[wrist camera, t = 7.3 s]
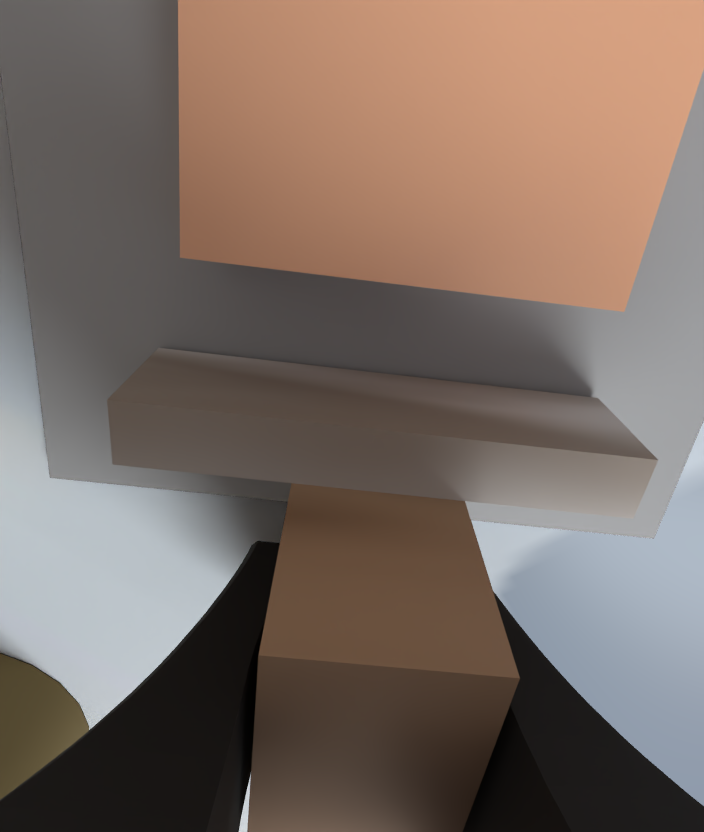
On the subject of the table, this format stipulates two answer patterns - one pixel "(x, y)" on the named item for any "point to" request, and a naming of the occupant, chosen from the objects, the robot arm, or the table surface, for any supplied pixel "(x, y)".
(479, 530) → the table surface
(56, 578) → the table surface
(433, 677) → the pusher
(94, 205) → the board
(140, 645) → the table surface
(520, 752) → the robot arm
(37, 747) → the cork
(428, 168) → the terracotta tile
